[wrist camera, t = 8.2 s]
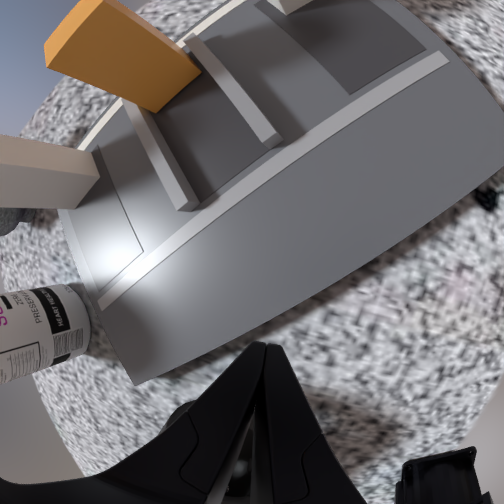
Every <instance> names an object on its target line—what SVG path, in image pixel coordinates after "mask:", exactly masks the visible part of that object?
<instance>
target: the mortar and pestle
mask: <svg viewBox="0 0 504 504" xmlns="http://www.w3.org/2000/svg"><path fill="white" fill-rule="evenodd" d="M35 211H36V208H5V207H0V236H4V235H7V234H8V233H10V232H11V231H12V230H14V229H15V228H16V226H17V225H18V223H19V222H26V223H30V221H31V220H32V218H33V217H34V215H35Z"/></svg>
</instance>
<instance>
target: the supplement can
mask: <svg viewBox="0 0 504 504" xmlns="http://www.w3.org/2000/svg"><path fill="white" fill-rule="evenodd" d="M90 337H91V326H90V321H89V315H88V313H87V310H86V307H85V305H84V303H83V301H82V300H81V298H80V297H79V295H78V294H77V293H76V292H75V291H73V290H72V289H71V288H70V287H69V286H67V285H64V284H58V285H52V286H46V287H40V288H34V289H28V290H22V291H16V292H10V293H4V294H0V384H3V383H6V382H9V381H12V380H14V379H17V378H20V377H23V376H26V375H28V374H31V373H34V372H37V371H40V370H42V369H45V368H48V367H51V366H53V365H56V364H59V363H61V362H64V361H67V360H69V359H72V358H75V357H77V356H80V355H82V354H83V353H84V352H85V351H86V350H87V347H88V343H89V340H90Z"/></svg>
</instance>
